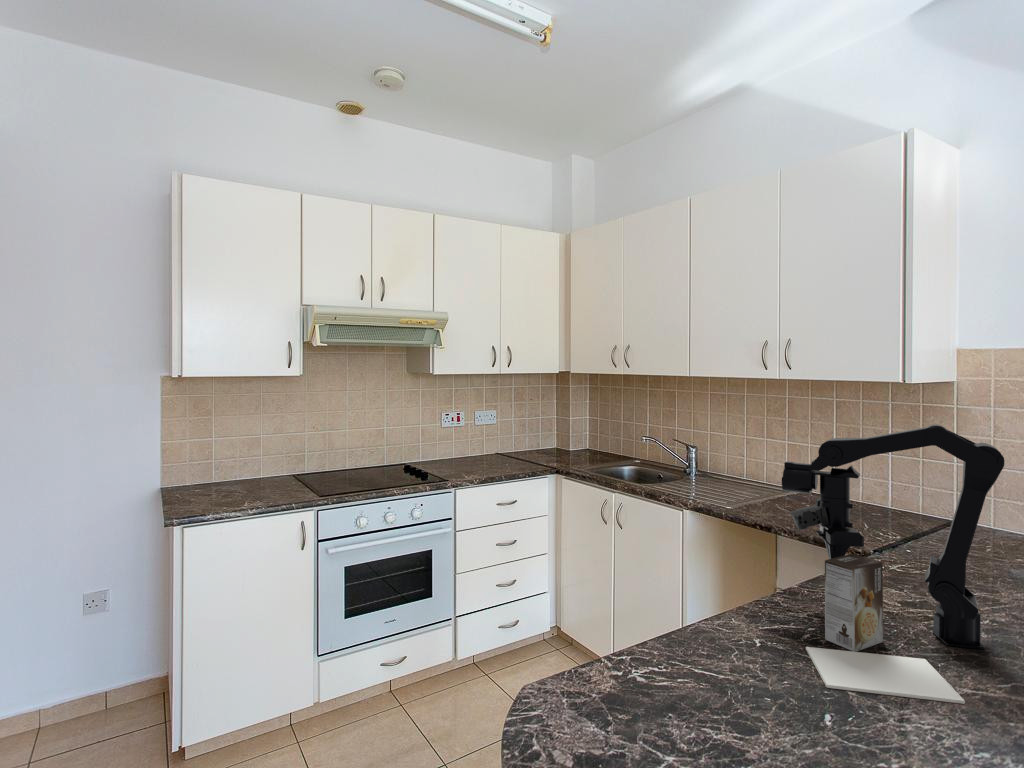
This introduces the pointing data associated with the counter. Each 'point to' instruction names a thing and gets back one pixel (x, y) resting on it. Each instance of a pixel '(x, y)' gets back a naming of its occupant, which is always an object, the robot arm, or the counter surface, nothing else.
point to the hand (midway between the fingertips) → (834, 567)
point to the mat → (882, 674)
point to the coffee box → (854, 601)
